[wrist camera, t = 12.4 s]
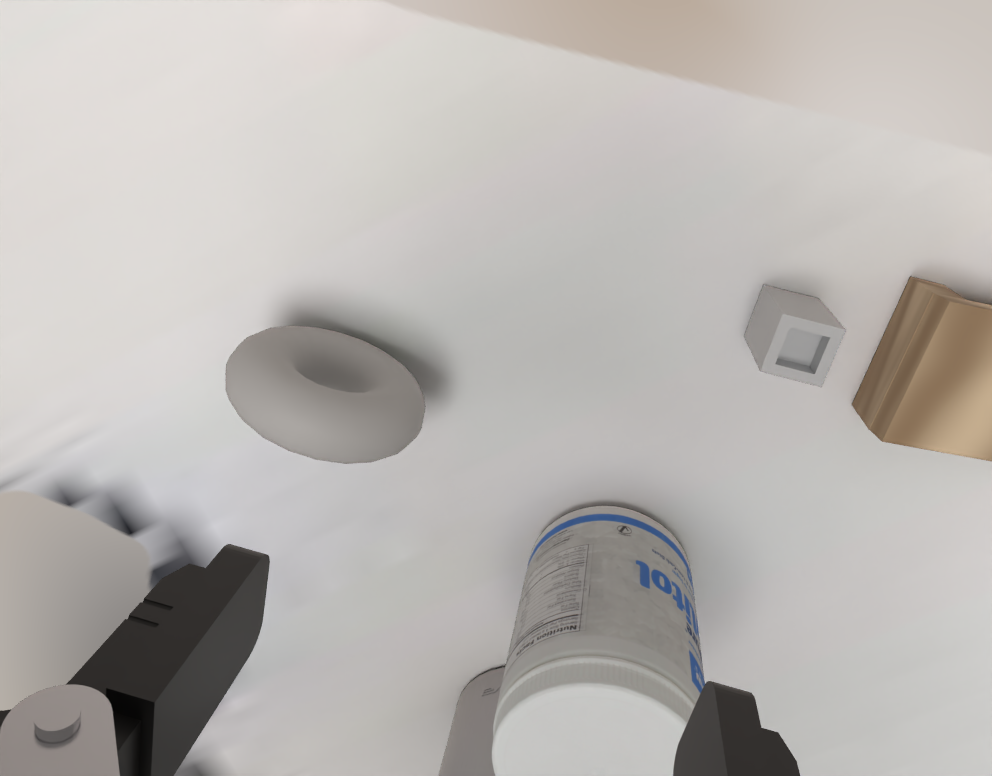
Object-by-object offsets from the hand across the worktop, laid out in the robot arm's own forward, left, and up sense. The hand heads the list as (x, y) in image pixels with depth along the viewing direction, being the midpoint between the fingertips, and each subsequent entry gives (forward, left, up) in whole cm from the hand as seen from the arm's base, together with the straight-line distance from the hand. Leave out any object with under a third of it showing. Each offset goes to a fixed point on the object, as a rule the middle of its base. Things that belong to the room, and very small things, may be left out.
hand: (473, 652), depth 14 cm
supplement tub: (-18, -1, -28) cm, 34 cm away
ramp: (-7, -22, -28) cm, 36 cm away
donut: (-4, +12, -28) cm, 31 cm away
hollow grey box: (-3, -10, -28) cm, 30 cm away
